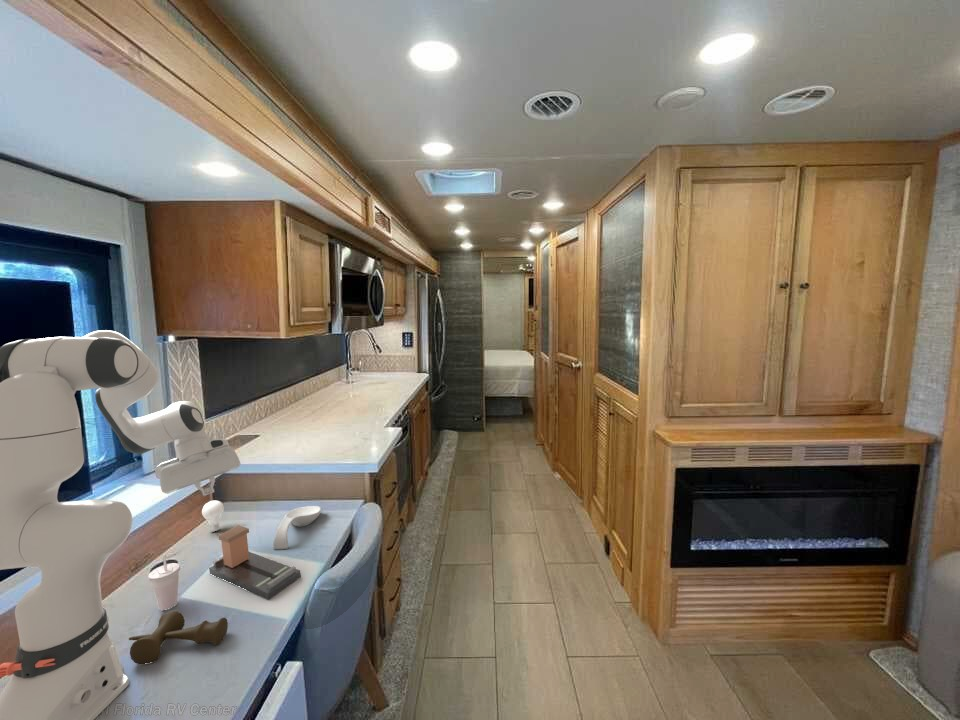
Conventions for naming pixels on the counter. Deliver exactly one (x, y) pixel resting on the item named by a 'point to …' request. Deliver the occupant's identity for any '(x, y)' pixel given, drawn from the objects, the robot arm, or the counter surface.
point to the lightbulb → (213, 514)
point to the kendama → (175, 636)
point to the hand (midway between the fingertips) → (208, 493)
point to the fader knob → (234, 546)
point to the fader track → (257, 575)
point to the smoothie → (165, 584)
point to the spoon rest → (294, 523)
